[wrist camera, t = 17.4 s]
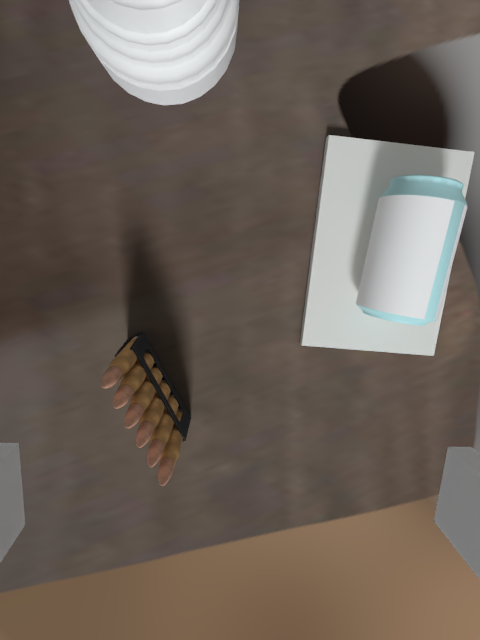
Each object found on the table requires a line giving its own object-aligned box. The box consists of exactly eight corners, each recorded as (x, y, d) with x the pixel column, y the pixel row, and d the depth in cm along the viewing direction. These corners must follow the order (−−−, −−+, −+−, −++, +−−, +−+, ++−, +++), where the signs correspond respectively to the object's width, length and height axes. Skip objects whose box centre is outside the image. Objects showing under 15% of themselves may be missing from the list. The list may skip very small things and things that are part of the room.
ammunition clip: (127, 339, 38) (84, 381, 26) (143, 331, 38) (107, 369, 26) (176, 425, 40) (157, 500, 28) (191, 418, 40) (178, 490, 28)
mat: (428, 353, 40) (433, 355, 39) (299, 342, 39) (301, 345, 38) (467, 154, 36) (474, 152, 35) (325, 138, 35) (329, 134, 34)
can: (338, 307, 36) (366, 176, 33) (389, 312, 39) (418, 193, 37) (398, 325, 30) (436, 167, 27) (452, 329, 33) (491, 188, 31)
